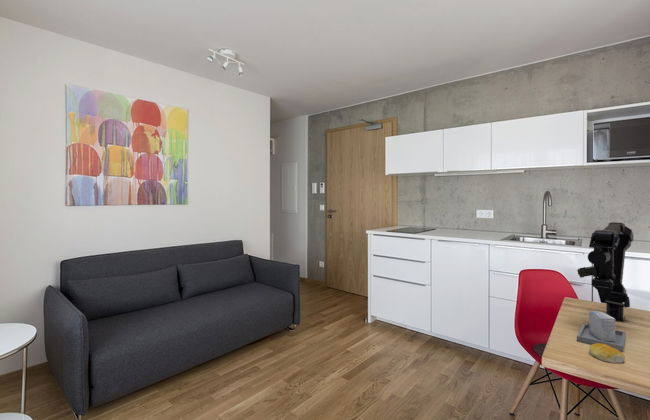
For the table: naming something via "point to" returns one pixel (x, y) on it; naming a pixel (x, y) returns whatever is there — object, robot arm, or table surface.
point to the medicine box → (602, 326)
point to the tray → (591, 339)
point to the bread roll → (606, 353)
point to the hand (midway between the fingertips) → (603, 299)
